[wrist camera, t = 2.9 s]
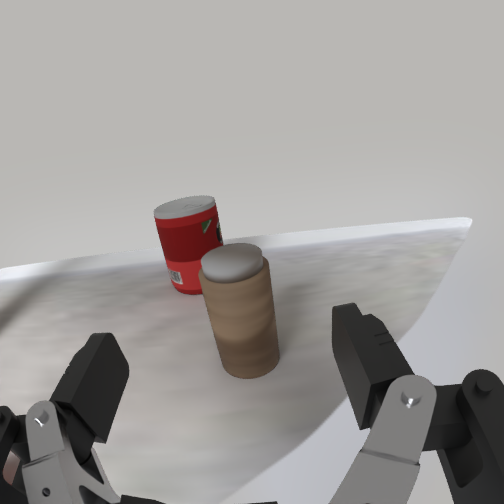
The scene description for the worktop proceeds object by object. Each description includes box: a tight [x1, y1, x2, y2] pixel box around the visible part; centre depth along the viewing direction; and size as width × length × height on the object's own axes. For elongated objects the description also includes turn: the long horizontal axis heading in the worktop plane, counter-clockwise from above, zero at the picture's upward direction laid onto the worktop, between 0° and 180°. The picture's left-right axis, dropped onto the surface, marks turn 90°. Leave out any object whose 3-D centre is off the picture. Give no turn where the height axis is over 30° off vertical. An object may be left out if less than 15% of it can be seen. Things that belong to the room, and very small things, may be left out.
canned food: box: [154, 196, 223, 295], centre depth 37 cm, size 8×8×11 cm
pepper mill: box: [198, 243, 279, 379], centre depth 23 cm, size 5×5×10 cm
